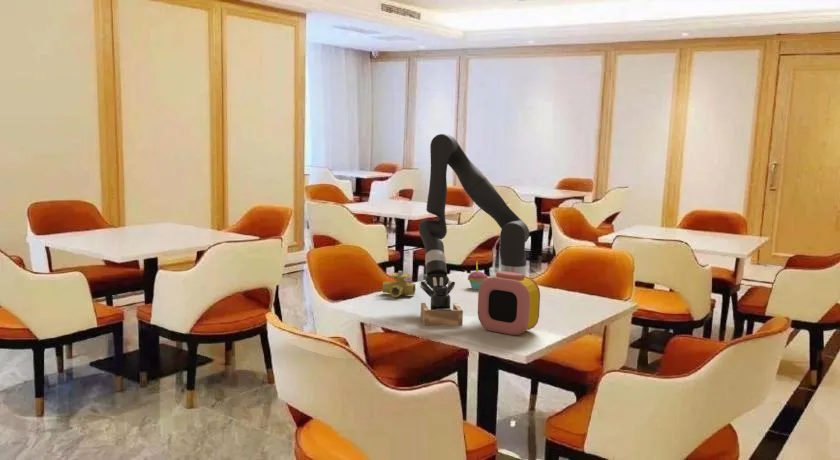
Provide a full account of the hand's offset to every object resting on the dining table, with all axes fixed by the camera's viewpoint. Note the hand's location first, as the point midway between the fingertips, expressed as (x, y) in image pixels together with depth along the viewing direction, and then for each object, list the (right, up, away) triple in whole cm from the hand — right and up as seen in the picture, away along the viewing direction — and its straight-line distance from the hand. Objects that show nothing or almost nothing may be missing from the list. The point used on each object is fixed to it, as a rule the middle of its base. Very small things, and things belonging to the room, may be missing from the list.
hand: (439, 305), depth 258 cm
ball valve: (-16, 0, +34) cm, 38 cm away
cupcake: (+18, +2, +53) cm, 56 cm away
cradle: (0, -5, -3) cm, 6 cm away
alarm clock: (+22, -7, -14) cm, 27 cm away
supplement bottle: (0, -5, -3) cm, 6 cm away
